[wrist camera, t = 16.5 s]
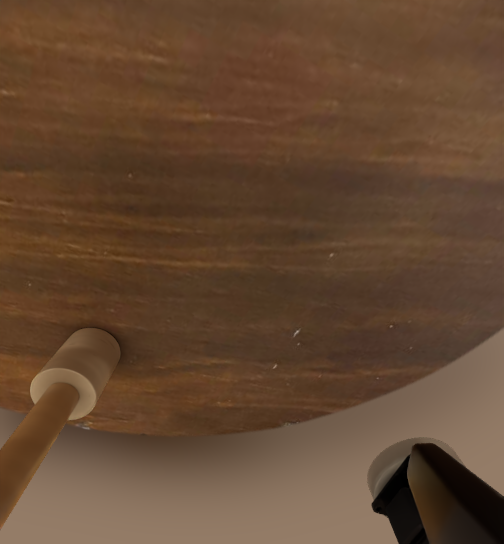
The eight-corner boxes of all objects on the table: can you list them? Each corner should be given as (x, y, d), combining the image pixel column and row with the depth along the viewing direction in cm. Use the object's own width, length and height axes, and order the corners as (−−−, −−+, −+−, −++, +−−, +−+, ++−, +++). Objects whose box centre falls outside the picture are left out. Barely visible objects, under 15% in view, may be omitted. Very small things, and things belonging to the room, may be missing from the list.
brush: (127, 337, 21) (21, 527, 11) (112, 379, 22) (1, 589, 12) (74, 319, 20) (-94, 501, 10) (61, 362, 21) (-104, 569, 11)
